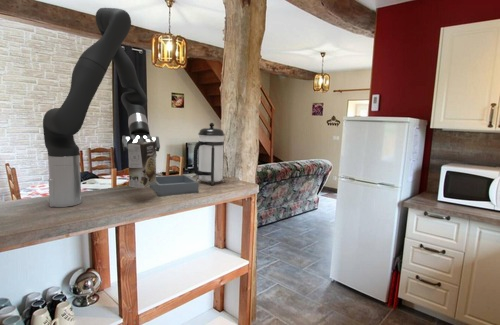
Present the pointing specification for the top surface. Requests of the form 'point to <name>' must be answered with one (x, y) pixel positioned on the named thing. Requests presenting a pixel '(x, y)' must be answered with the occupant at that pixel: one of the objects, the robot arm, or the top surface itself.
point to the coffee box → (142, 163)
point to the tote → (174, 185)
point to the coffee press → (209, 155)
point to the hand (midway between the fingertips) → (143, 158)
